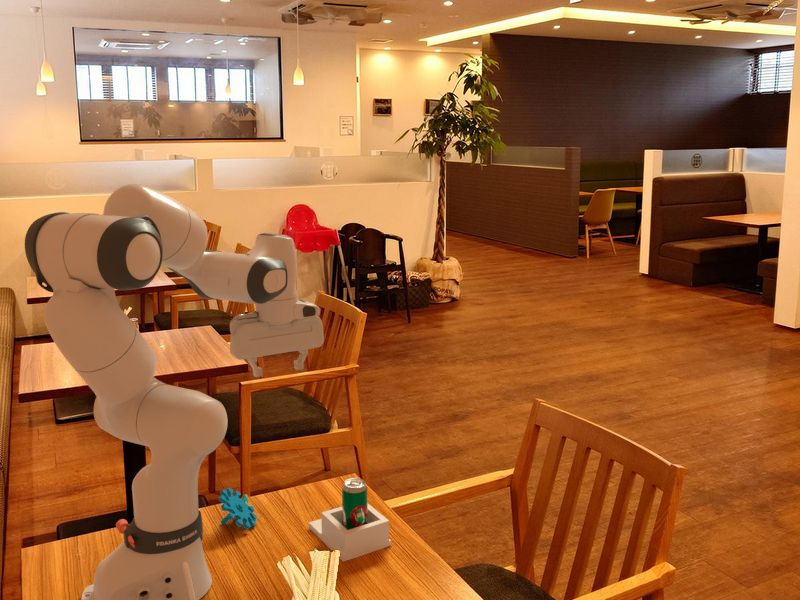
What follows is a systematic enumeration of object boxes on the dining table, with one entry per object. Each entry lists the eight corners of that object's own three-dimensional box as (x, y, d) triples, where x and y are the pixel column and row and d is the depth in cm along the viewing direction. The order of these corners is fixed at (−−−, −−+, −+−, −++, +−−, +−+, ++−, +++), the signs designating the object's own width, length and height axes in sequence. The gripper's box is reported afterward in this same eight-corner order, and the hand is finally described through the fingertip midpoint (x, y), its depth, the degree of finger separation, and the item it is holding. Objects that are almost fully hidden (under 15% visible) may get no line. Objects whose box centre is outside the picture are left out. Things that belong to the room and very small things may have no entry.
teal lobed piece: (249, 532, 157) (216, 495, 157) (229, 550, 158) (196, 514, 158) (266, 512, 168) (235, 478, 168) (247, 529, 169) (217, 495, 169)
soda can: (345, 529, 159) (345, 476, 156) (369, 531, 158) (369, 478, 155) (340, 542, 154) (339, 487, 151) (364, 544, 153) (364, 489, 150)
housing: (343, 561, 149) (342, 535, 148) (308, 527, 162) (308, 502, 160) (391, 545, 155) (391, 520, 154) (354, 513, 167) (354, 489, 166)
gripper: (235, 319, 153) (237, 385, 156) (326, 307, 164) (327, 368, 167) (223, 312, 158) (226, 376, 161) (313, 301, 169) (314, 361, 172)
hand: (278, 372), depth 164 cm, fingers open, 8 cm apart
